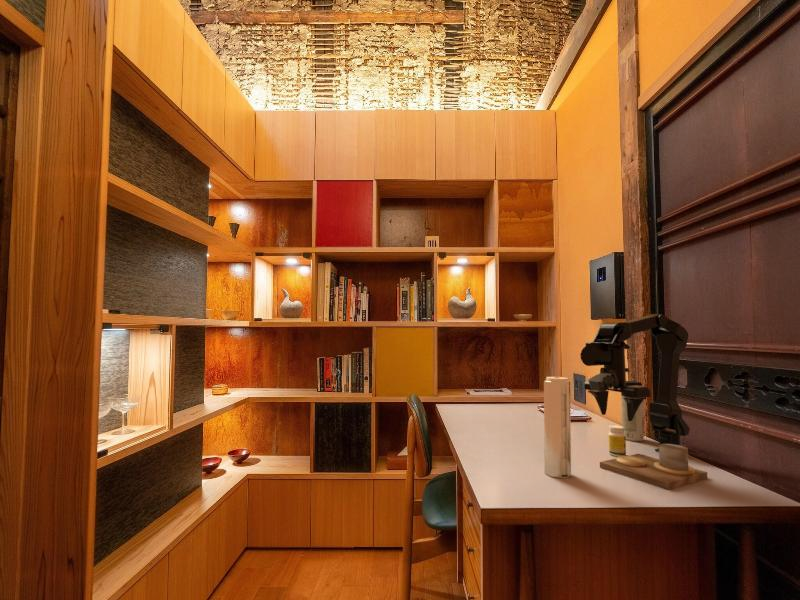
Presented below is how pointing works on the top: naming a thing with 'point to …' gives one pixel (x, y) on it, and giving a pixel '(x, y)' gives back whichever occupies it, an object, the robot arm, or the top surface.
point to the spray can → (634, 427)
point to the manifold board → (657, 467)
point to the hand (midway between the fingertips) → (616, 417)
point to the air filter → (557, 427)
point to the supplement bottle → (616, 441)
